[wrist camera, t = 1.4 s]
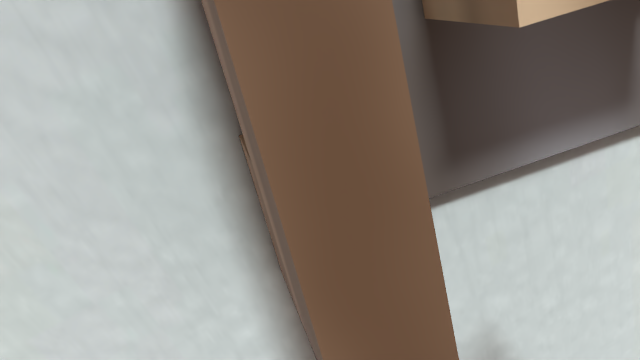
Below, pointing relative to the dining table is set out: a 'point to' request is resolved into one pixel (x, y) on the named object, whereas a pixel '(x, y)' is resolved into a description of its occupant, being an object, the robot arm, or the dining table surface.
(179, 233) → the dining table surface
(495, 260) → the dining table surface
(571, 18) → the slotted stand
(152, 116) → the dining table surface
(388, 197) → the brown rectangular block
